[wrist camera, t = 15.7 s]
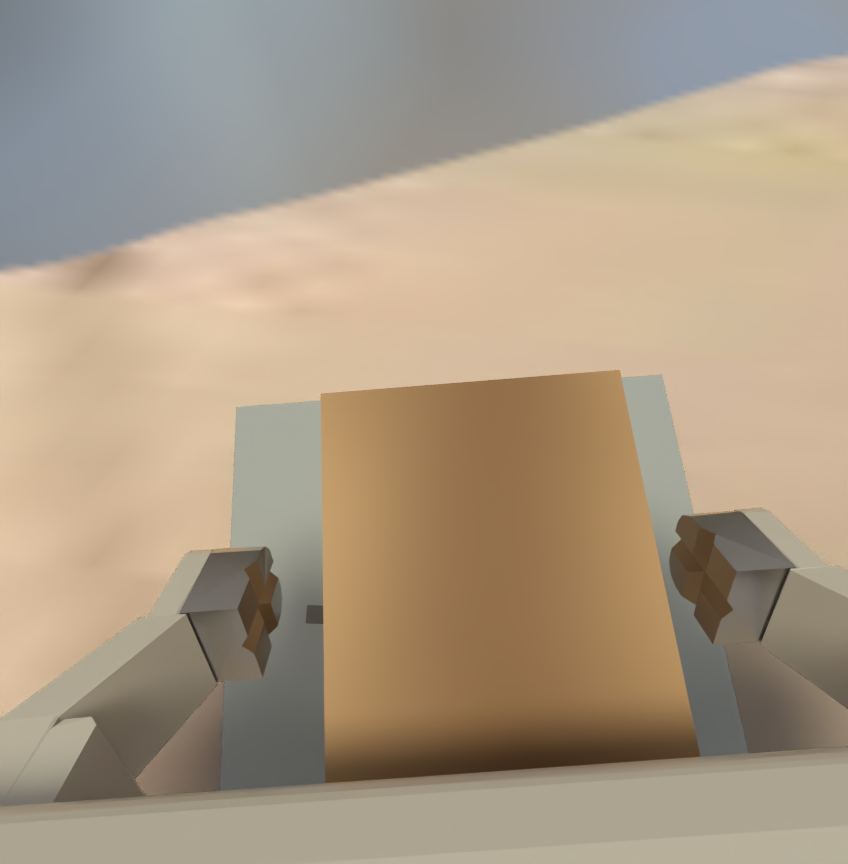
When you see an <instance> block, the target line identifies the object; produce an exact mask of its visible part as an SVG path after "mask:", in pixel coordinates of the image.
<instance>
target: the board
mask: <svg viewBox="0 0 848 864" xmlns="http://www.w3.org/2000/svg"><path fill="white" fill-rule="evenodd" d="M621 379H622V384H623V388H624V393H625V398H626V403H627V408H628V412H629V417H630V422H631V427H632V431H633V436H634V441H635V446H636V451H637V455H638V460H639V465H640V470H641V474H642V479H643V484H644V489H645V494H646V498H647V503H648V508H649V513H650V518H651V522H652V527H653V532H654V537H655V541H656V546H657V551H658V556H659V561H660V565H661V570H662V575H663V580H664V584H665V589H666V594H667V599H668V604H669V608H670V613H671V618H672V623H673V627H674V632H675V637H676V642H677V647H678V651H679V656H680V661H681V666H682V671H683V675H684V680H685V685H686V690H687V694H688V699H689V704H690V709H691V714H692V718H693V723H694V728H695V733H696V737H697V742H698V747H699V752H700V757H705V756H719V755H733V754H747V753H748V748H747V744H746V739H745V735H744V731H743V726H742V722H741V718H740V713H739V709H738V705H737V700H736V696H735V691H734V687H733V683H732V678H731V674H730V670H729V665H728V661H727V656H726V652H725V648H724V644H718V645H713V644H712V642H711V641H710V639H709V638H708V636H707V635H706V633H705V632H704V630H703V629H702V627H701V626H700V624H699V623H698V621H697V620H696V618H695V616H694V610H695V604H693V603H692V602H690V601H688V600H687V599H685V598H683V597H682V596H681V595H680V593H679V592H678V590H677V588H676V587H675V585H674V582H673V580H672V577H671V573H670V566H669V559H670V553H671V548H672V547H673V546H674V545H675V544H677V543H678V542H679V541H680V540H681V538H680V537H679V536H678V534H677V533H676V531H675V530H676V526H677V522H678V520H679V519H680V517H681V516H682V515H688V514H694V512H693V508H692V504H691V499H690V495H689V490H688V486H687V482H686V477H685V473H684V469H683V464H682V460H681V456H680V451H679V447H678V442H677V438H676V434H675V429H674V425H673V421H672V416H671V412H670V407H669V403H668V399H667V394H666V390H665V386H664V381H663V377H662V375H650V376H637V377H624V378H621ZM261 546H265V547H267V548H269V549H270V552H271V555H272V558H273V564H272V567H271V570H270V572H271V573H273V574H274V575H275V576H277V577H278V578H279V581H280V585H281V591H282V609H281V616H280V620H279V623H278V626H277V627H276V628H275V629H274V630H273V631H272V632H271V633H270V634H269V638H270V641H271V644H272V648H271V651H270V655H269V658H268V662H267V665H266V668H265V672H264V675H263V678H253V679H244V680H234V681H224V702H223V725H222V748H221V771H220V791H223V790H238V789H252V788H266V787H280V786H294V785H308V784H322V783H325V722H324V630H323V538H322V446H321V401H311V402H298V403H285V404H272V405H259V406H246V407H236V427H235V450H234V473H233V496H232V519H231V541H230V548H242V547H261Z"/></svg>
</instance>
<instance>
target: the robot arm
mask: <svg viewBox="0 0 848 864" xmlns="http://www.w3.org/2000/svg"><path fill="white" fill-rule="evenodd" d="M675 531H676V533H677V534H678V536H679V537H680V538H681V540H680V541H679V542H678V543H677V544H675V545H674V546H673V547H672V548H671V553H670V559H669V566H670V573H671V577H672V580H673V582H674V585H675V587H676V588H677V590H678V592H679V593H680V595H681V596H682V597H683V598H685V599H687V600H688V601H690V602H692V603H693V604H695V610H694V616H695V618H696V620H697V621H698V623H699V624H700V626H701V627H702V629H703V630H704V632H705V633H706V635H707V636H708V638H709V639H710V641H711V642H712V644H713V645H718V644H740V643H761V644H760V645H761V646H762V647H764V648H765V649H766V650H768V651H769V652H770V653H772V654H773V655H775V656H776V657H777V658H779V659H780V660H781V661H783V662H784V663H786V664H787V665H788V666H790V667H791V668H792V669H794V670H795V671H797V672H798V673H799V674H801V675H802V676H803V677H805V678H806V679H807V680H809V681H810V682H812V683H813V684H814V685H816V686H817V687H818V688H820V689H821V690H823V691H824V692H825V693H827V694H828V695H829V696H831V697H832V698H833V699H835V700H836V701H838V702H839V703H840V704H842V705H843V706H844V707H846V708H847V709H848V570H847V569H844V568H842V567H840V566H828V565H827V564H826V563H825V562H824V561H823V560H822V559H821V558H820V557H818V556H817V555H816V554H815V553H814V552H813V551H812V550H811V549H810V548H809V547H808V546H807V545H806V544H804V543H803V542H802V541H801V540H800V539H799V538H798V537H797V536H796V535H795V534H794V533H793V532H792V531H790V530H789V529H788V528H787V527H786V526H785V525H784V524H783V523H782V522H781V521H780V520H779V519H777V518H776V517H775V516H774V515H773V514H772V513H771V512H770V511H768V510H766V509H763V508H752V509H741V510H734V511H724V512H712V513H700V514H688V515H682V516H681V517H680V519H679V520H678V522H677V526H676V530H675ZM272 564H273V558H272V555H271V552H270V549H269V548H267V547H265V546H261V547H242V548H223V549H215V550H194V551H190V552H188V553H187V554H185V555H184V556H183V558H182V560H181V561H180V563H179V565H178V567H177V568H176V570H175V572H174V573H173V575H172V577H171V578H170V580H169V582H168V583H167V585H166V587H165V588H164V590H163V592H162V594H161V595H160V597H159V599H158V600H157V602H156V604H155V605H154V607H153V609H152V610H151V612H150V614H149V616H148V617H139V618H138V619H137V620H135V621H134V622H133V623H131V624H130V625H128V626H127V627H126V628H124V629H123V630H122V631H120V632H119V633H117V634H116V635H115V636H113V637H112V638H111V639H109V640H108V641H106V642H105V643H104V644H102V645H101V646H100V647H98V648H97V649H95V650H94V651H93V652H91V653H90V654H89V655H87V656H86V657H84V658H83V659H82V660H80V661H79V662H78V663H76V664H75V665H73V666H72V667H71V668H69V669H68V670H67V671H65V672H64V673H62V674H61V675H60V676H58V677H57V678H56V679H54V680H53V681H51V682H50V683H49V684H47V685H46V686H45V687H43V688H42V689H40V690H39V691H38V692H36V693H35V694H34V695H32V696H31V697H29V698H28V699H27V700H25V701H24V702H23V703H21V704H20V705H18V706H17V707H16V708H14V709H13V710H12V711H10V712H9V713H7V714H6V715H5V716H3V717H2V718H1V719H0V864H848V746H845V747H831V748H817V749H803V750H789V751H775V752H761V753H747V754H733V755H719V756H705V757H691V758H677V759H663V760H649V761H634V762H620V763H606V764H592V765H578V766H563V767H549V768H535V769H521V770H507V771H493V772H478V773H464V774H450V775H436V776H422V777H407V778H393V779H379V780H365V781H351V782H337V783H322V784H308V785H294V786H280V787H266V788H252V789H238V790H223V791H209V792H195V793H181V794H167V795H153V796H146V795H145V793H144V792H143V790H142V789H141V788H140V786H139V785H138V783H137V782H136V780H135V778H136V777H137V776H138V775H139V774H140V773H141V772H142V770H143V769H144V768H145V767H146V766H147V765H148V764H149V762H150V761H151V760H152V759H153V758H154V757H155V756H156V754H157V753H158V752H159V751H160V750H161V749H162V748H163V746H164V745H165V744H166V743H167V742H168V741H169V740H170V738H171V737H172V736H173V735H174V734H175V733H176V732H177V730H178V729H179V728H180V727H181V726H182V725H183V724H184V722H185V721H186V720H187V719H188V718H189V717H190V716H191V714H192V713H193V712H194V711H195V710H196V709H197V708H198V706H199V705H200V704H201V703H202V702H203V701H204V700H205V698H206V697H207V696H208V695H209V694H210V693H211V692H212V690H213V689H214V688H215V687H216V686H217V683H216V682H224V681H234V680H244V679H253V678H263V675H264V672H265V668H266V665H267V662H268V658H269V655H270V651H271V648H272V644H271V641H270V638H269V634H270V633H271V632H272V631H273V630H274V629H275V628H276V627H277V626H278V623H279V620H280V616H281V609H282V591H281V585H280V581H279V578H278V577H277V576H275V575H274V574H273V573H271V572H270V570H271V567H272Z"/></svg>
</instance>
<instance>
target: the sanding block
mask: <svg viewBox="0 0 848 864" xmlns="http://www.w3.org/2000/svg"><path fill="white" fill-rule="evenodd" d="M321 446H322V538H323V630H324V722H325V783H337V782H351V781H365V780H379V779H393V778H407V777H422V776H436V775H450V774H464V773H478V772H493V771H507V770H521V769H535V768H549V767H563V766H578V765H592V764H606V763H620V762H634V761H649V760H663V759H677V758H691V757H700V752H699V747H698V742H697V737H696V733H695V728H694V723H693V718H692V714H691V709H690V704H689V699H688V694H687V690H686V685H685V680H684V675H683V671H682V666H681V661H680V656H679V651H678V647H677V642H676V637H675V632H674V627H673V623H672V618H671V613H670V608H669V604H668V599H667V594H666V589H665V584H664V580H663V575H662V570H661V565H660V561H659V556H658V551H657V546H656V541H655V537H654V532H653V527H652V522H651V518H650V513H649V508H648V503H647V498H646V494H645V489H644V484H643V479H642V474H641V470H640V465H639V460H638V455H637V451H636V446H635V441H634V436H633V431H632V427H631V422H630V417H629V412H628V408H627V403H626V398H625V393H624V388H623V384H622V379H621V374H620V370H614V371H601V372H589V373H576V374H564V375H551V376H538V377H526V378H513V379H501V380H488V381H475V382H463V383H450V384H438V385H425V386H412V387H400V388H387V389H374V390H362V391H349V392H337V393H324V394H321Z"/></svg>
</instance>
